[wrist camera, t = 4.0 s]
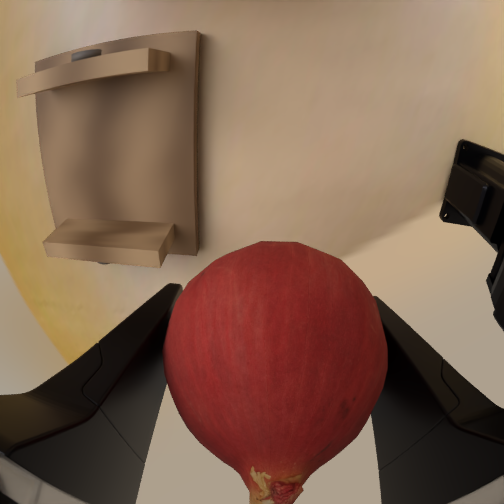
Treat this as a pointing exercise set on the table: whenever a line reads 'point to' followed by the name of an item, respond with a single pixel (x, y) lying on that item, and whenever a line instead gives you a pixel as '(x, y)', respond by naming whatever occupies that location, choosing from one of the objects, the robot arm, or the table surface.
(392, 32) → the table surface
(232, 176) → the table surface
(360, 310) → the onion
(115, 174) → the cup
